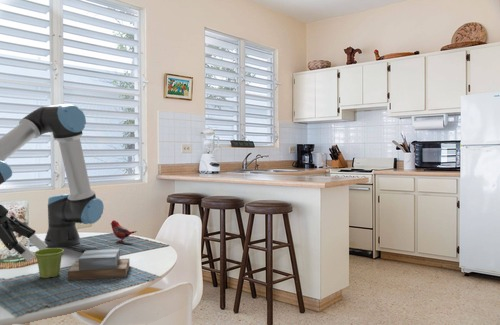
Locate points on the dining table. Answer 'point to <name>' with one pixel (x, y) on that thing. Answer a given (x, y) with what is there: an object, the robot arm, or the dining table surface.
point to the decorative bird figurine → (120, 231)
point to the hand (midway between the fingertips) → (38, 253)
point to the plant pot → (49, 261)
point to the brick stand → (99, 265)
